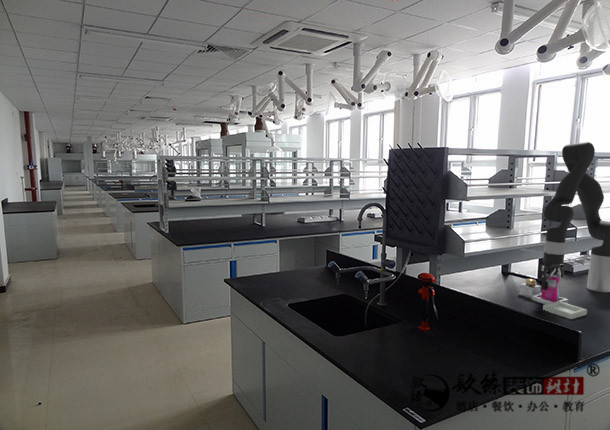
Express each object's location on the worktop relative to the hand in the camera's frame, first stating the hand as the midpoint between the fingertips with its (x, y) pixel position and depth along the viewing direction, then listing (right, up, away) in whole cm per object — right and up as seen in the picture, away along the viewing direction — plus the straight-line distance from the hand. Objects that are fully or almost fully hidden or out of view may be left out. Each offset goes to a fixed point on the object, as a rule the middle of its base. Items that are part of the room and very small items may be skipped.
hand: (550, 288), depth 173 cm
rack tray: (-1, -8, -11) cm, 14 cm away
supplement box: (0, -6, +1) cm, 6 cm away
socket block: (-1, -6, +3) cm, 7 cm away
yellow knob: (-4, -4, +8) cm, 10 cm away
